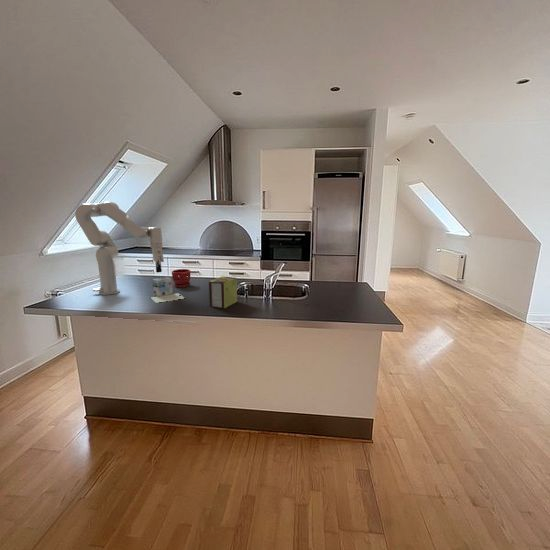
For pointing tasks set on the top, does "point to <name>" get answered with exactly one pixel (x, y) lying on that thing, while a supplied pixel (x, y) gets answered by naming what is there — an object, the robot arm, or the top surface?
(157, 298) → the pale green mat
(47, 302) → the top surface
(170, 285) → the light bulb box
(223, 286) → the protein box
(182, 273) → the plant pot
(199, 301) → the top surface
